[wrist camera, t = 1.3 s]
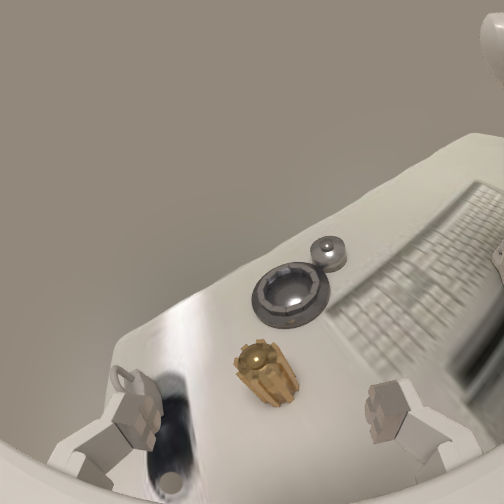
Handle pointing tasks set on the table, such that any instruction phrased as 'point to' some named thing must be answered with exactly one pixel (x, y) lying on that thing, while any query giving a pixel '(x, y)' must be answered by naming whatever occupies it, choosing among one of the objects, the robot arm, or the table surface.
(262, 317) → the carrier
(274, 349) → the gear
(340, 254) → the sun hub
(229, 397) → the table surface
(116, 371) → the padlock
